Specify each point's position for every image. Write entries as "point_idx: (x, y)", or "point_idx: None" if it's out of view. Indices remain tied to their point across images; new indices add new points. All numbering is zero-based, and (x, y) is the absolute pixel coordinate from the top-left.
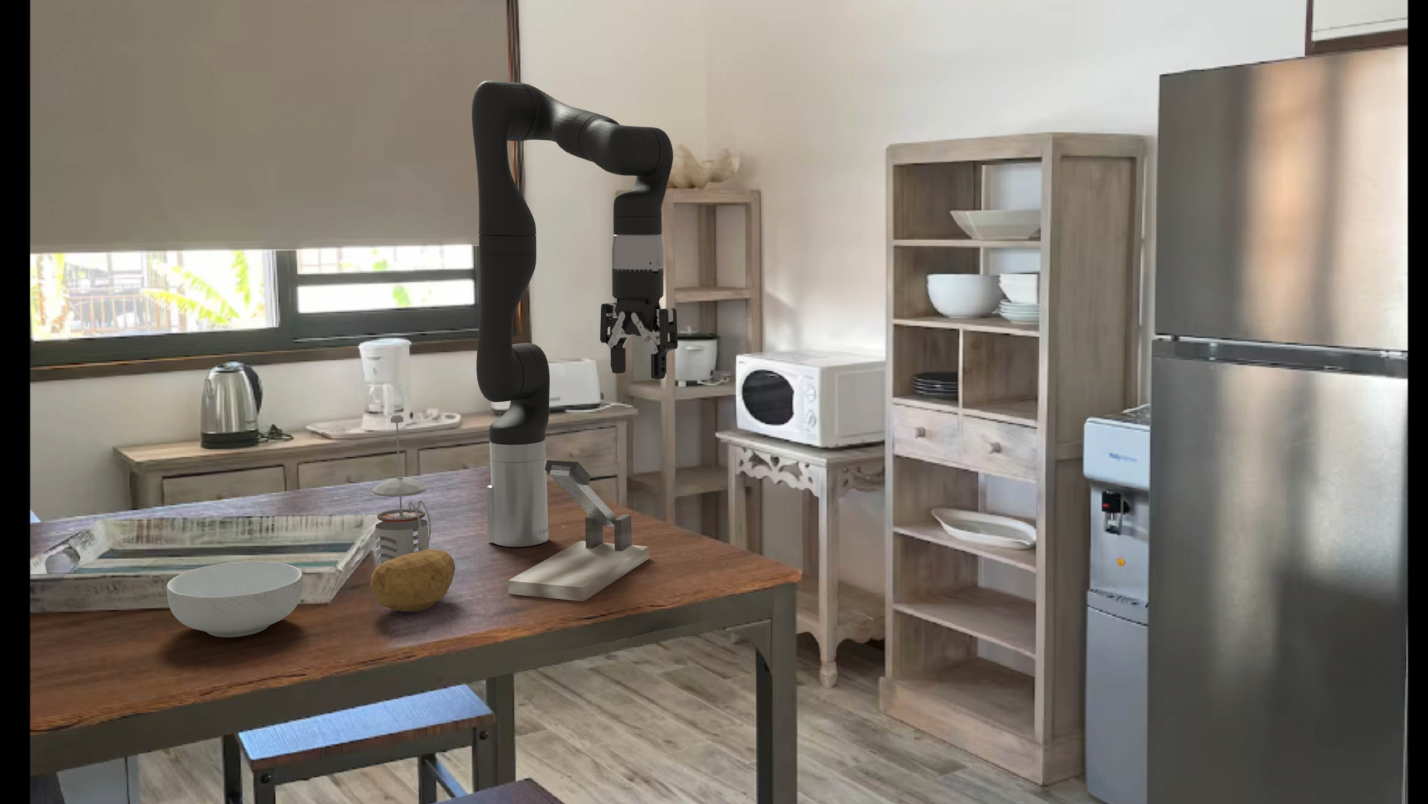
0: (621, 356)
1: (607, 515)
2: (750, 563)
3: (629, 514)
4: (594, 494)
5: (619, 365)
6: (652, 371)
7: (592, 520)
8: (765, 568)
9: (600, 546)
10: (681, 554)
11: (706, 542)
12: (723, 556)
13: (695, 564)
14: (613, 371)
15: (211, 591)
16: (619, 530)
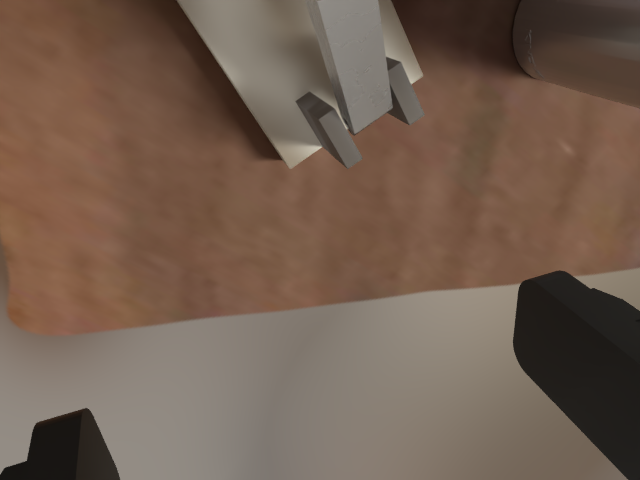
0: (612, 419)
1: (333, 86)
2: (127, 301)
3: (350, 165)
4: (321, 23)
5: (558, 348)
6: (51, 462)
7: None
8: (76, 307)
9: None
10: (268, 227)
11: (306, 301)
12: (204, 283)
13: (187, 213)
14: (548, 276)
15: None
16: (314, 110)
